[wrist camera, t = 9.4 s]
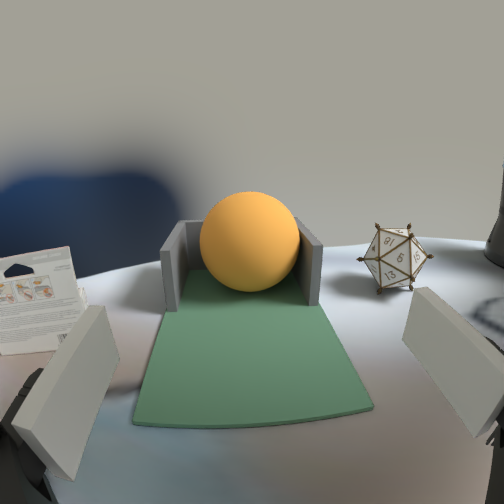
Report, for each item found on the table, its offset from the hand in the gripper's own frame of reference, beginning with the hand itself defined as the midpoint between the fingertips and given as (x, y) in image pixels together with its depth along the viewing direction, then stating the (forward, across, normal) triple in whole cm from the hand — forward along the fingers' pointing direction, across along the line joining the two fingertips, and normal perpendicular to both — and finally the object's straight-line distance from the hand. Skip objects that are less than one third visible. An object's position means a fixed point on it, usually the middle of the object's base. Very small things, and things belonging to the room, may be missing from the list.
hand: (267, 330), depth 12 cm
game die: (+20, +18, -10) cm, 29 cm away
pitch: (+16, 0, -9) cm, 18 cm away
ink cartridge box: (+10, -20, -9) cm, 24 cm away
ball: (+22, +1, -3) cm, 22 cm away
